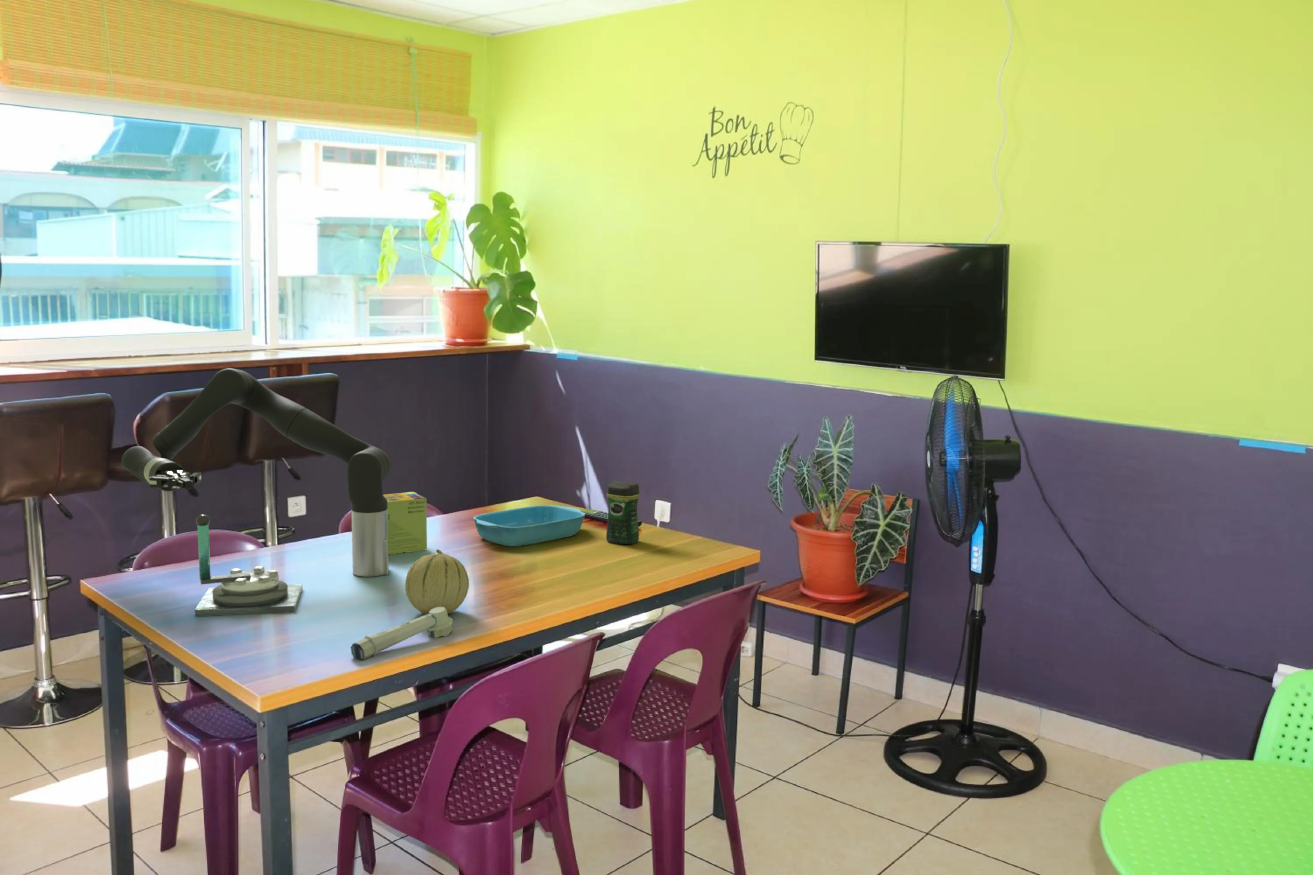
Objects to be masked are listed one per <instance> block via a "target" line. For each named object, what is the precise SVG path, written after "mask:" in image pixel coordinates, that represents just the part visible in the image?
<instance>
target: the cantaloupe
mask: <svg viewBox="0 0 1313 875" xmlns="http://www.w3.org/2000/svg"><path fill="white" fill-rule="evenodd" d="M407 571H408V572H407V574H406V577H405V578H406V579H405V584H404V587H405V594H406V598H407V599H408V601H409V602H410V604H411V606H412V607H413V608H415V609H416V610H417V611H419V612H420V613H422V614H424V615H427V614H429V611H430V610H431V609H433V608H436V607H445V609H446V610H447V614H451V613H453V612H455V611H456V610H457V609H458V608H460V607H461V605H462V604H463V603H464V601H465V599H466V597H467V595H468V592H469V588H470V582H469V581H470V580H469V576H468V572H467V570H466V568H465V566H464V564H463V563H462V562H461V561H460V560H458V559H457V558H455V557H454V556H452V555H448V554H445V553H443V551H442V550H440V549H436V553H430V554H426V555H423V556H421V557H420V558H418V559H417V560H416V561H414V563H413V564H412V565H411V566H410V568H409V570H407Z"/></svg>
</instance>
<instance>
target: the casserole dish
mask: <svg viewBox="0 0 1313 875" xmlns="http://www.w3.org/2000/svg"><path fill="white" fill-rule="evenodd" d="M585 517H586V512H583V511H582V510H581V509H578V508H575V507H571V506H562V505H555V504H540V505H532V506H524V507H518V508H511V509H505V510H498V511H492V512H485V513H481V514H478V515H475V516H473V521H474V524H475V529H476V530H477V533H478V535H479V536H480V537H481V538H482V539H483V540H485V541H487V542H491V543H495V544H497V545H501V546H505V547H523V546H527V545H535V544H540V543H545V542H549V541H554V540H555V541H556V540H560V539H564V538H568V537H572V536H575V535H576V534H577V533H579V531H580V530H581V528H582V525H583V522H584V519H585ZM522 545H523V546H522Z"/></svg>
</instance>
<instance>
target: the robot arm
mask: <svg viewBox="0 0 1313 875" xmlns="http://www.w3.org/2000/svg"><path fill="white" fill-rule="evenodd" d="M230 404H233V405H237V406H239V407H242V408H244V409H247V410H249V411H250V412H253V413H254V414H256V415H258V416H260V417H262V418H263V419H264V420H265V421H266V422H267V423H268V424H270V425H271V427H273V428H274V430H276V431H277V432H278V433H279V434H281V435H282V436H284V437H285V438H286V439H288V440H290V441H292V442H294V443H296V444H297V445H299V446H301V447H303V448H305V449H307V450H310V451H314V452H315V453H316V452H317V453H320V454H324V455H327V456H331V457H333V458H336V459H337V460H339V461H342V462H343V463H345V464H347V470H346V471H347V472H346V475H347V476H346V477H347V495H348V499H349V500H348V501H349V502H350V506H351V543H352V544H351V548H352V552H351V553H352V554H351V556H352V574H353V575H355V576H357V577H379V576H383V575H385V576H386V575H389V569H390V568H389V566H390V564H389V558H390V557H389V555H388V516H387V499H386V498H385V497H384V496H383V495H384V494H383V480H384V479H386V478H387V477H388V476H389V474H390V473H391V471H392V461H391V458H390V457H389V455H388V454H387V453H386V452H385V451H384V450H382V449H381V448H378V447H376V446H374V445H372V444H370V443H367V442H366V441H363V440H360V439H359V438H356V437H355V436H352V435H350V434H349V433H347V432H346V431H344V430H343V429H341V428H340V427H338V426H336V425H335V424H333V423H332V422H329V421H328V420H327V419H325V418H323V417H322V416H320V415H319V414H317V413H316V412H314V411H311V409H308V408H306V407H305V406H303V405H301V404H299V403H297V402H295V401H293V400H291V399H289V398H286V397H284V396H282V395H280V394H278V393H276V392H275V391H273V390H272V389H270V388H268V386H266V385H264V384H263V383H261V382H260V381H259V380H257V379H256V378H255V377H254V376H252V375H251V374H250V373H248V372H247V371H244V370H241V369H237V368H227V367H226V368H223V369H221V370H219V371H217V372H216V374H214V375H213V376H212V378H211V379H210V380H209V381H208V383H207V384H206V385H205V386H204V387H203V389H202V390H201V392H200V393H199V394H198V395H197V396H196V397H195V398H194V399H193V400H192V401H191V402H190V403H189V404H188V406H187V407H185V408H184V410H182V411H181V413H180V414H178V415H177V416H176V417H175V418H173V419H172V420H171V422H169V423H167V425H166V426H164V427H163V428H162V429H161V430H160V431H158V432H157V433H156V434H155V435H154V437H153V438H152V440H151V441H152V445H153V447H154V448H155V449H156V451H157V452H158V453H159V454H160V455H159V456H157V455H156V454H155V453H152V452H151V451H150V450H148V449H147V448H146V447H143V446H140V445H136V446H132V447H130V448H128V449H126V451H125V452H123V455H121V456H122V458H121V464H122V466H123V468H124V469H125V470H127V471H128V472H129V473H130V474H132V475H133V476H134V477H136V478H137V479H139V480H140V481H142V482H144V483H145V484H149V488H152V489H153V488H157V489H159V490H161V491H163V492H174V491H176V490H178V489H181V490H185V491H187V490H192V488H193V487H194V486H196V485H198V484H200V483H202V471H196V472H193V473H192V474H191V473H190V472H189V471H185V469H184V467H182V466H181V464H179V463H177V462H175V461H173V458H174V457H175V456H176V455H177V454H178V453H179V452H180V451H182V449H183V448H185V447H186V446H187V445H188V444H189V443H190V442H192V440H194V438H195V437H197V435H198V434H199V432H200V431H201V430H202V428H203V427H204V425H205V423H206V422H207V421H208V420H209V419H210V418H211V417H212V416H213V415H214V414H215V413H216V412H218V411H220V410H221V409H223V408H224V407H226V406H227V405H230Z"/></svg>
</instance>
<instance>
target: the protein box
mask: <svg viewBox="0 0 1313 875" xmlns="http://www.w3.org/2000/svg"><path fill="white" fill-rule="evenodd" d="M383 496H384V497H385V498H386V499H387V516H388V556H389V554H391V555H396V554H397V553H399V554H404V553H403V552H407V553H413V551H414V552H420V551H419V550H422V551H426V550H425V549H427V550H428V530H427V528H428V527H427V524H428V523H427V522H428V520H427V516H428V514H427V510H428V509H427V497H425V496H423V495H421V494H418V493H417V492H415V491H407V492H400V493H399V492H396V493H388V494H383ZM397 555H398V554H397Z"/></svg>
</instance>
